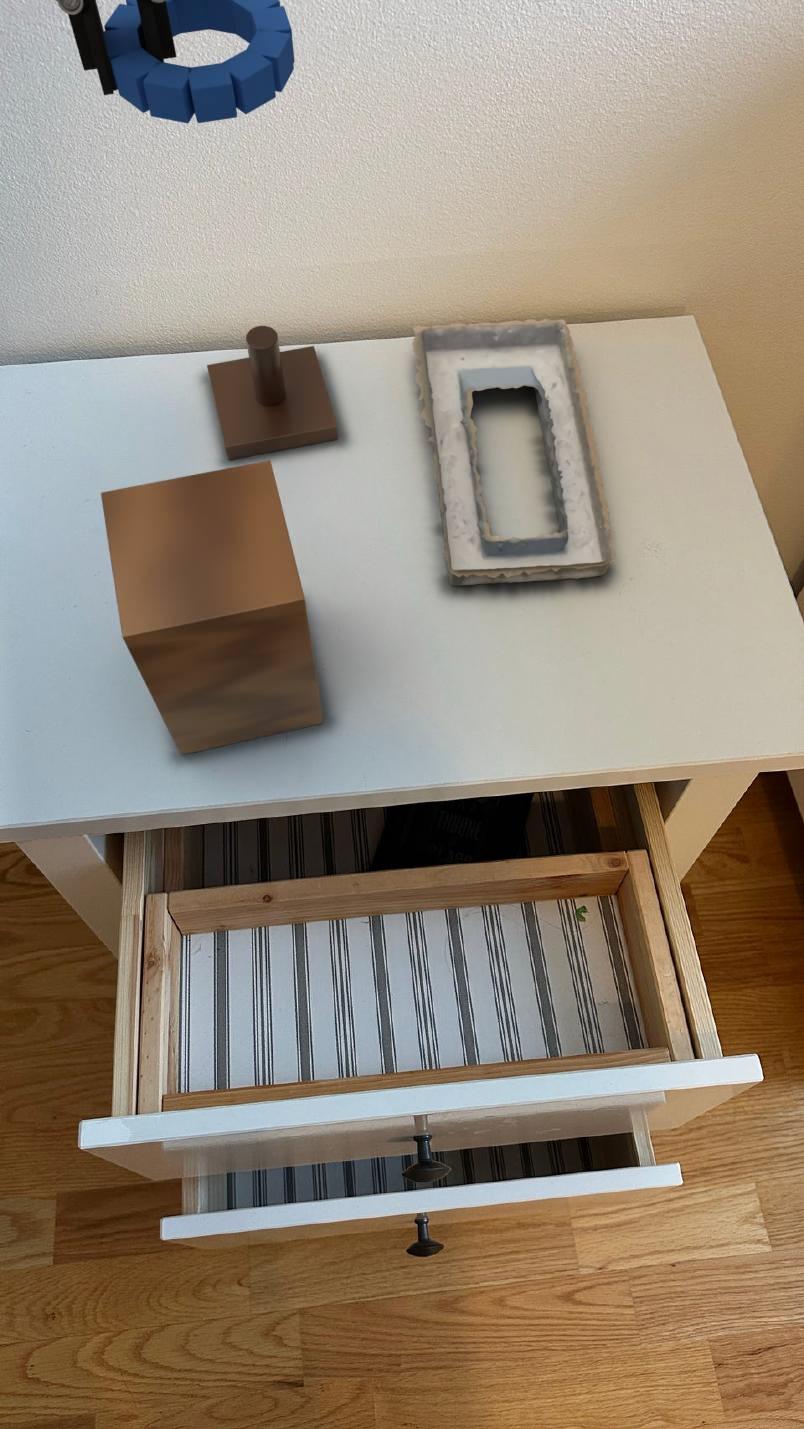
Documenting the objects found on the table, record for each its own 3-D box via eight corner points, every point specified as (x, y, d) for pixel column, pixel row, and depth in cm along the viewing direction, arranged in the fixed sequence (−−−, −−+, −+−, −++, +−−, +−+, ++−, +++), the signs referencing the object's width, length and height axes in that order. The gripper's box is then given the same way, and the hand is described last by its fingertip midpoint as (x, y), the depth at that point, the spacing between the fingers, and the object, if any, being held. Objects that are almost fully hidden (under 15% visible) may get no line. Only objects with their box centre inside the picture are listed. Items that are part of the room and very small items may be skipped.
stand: (180, 755, 67) (122, 637, 52) (160, 632, 71) (100, 492, 57) (324, 723, 68) (305, 599, 54) (295, 604, 72) (270, 459, 58)
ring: (124, 135, 50) (115, 100, 48) (103, 25, 54) (93, -10, 52) (309, 107, 51) (306, 72, 49) (274, 1, 55) (270, -35, 53)
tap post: (228, 460, 78) (212, 391, 71) (209, 378, 82) (193, 305, 75) (338, 439, 79) (333, 369, 72) (315, 359, 83) (308, 285, 76)
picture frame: (562, 343, 84) (568, 315, 81) (619, 585, 73) (627, 563, 70) (408, 354, 83) (408, 326, 81) (442, 600, 72) (444, 578, 70)
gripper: (-223, -379, 33) (-15, 143, 50) (245, -423, 35) (294, 96, 51) (-217, -463, 36) (-23, 55, 53) (211, -499, 38) (268, 14, 54)
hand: (133, 72), depth 52 cm, fingers closed on ring, 2 cm apart
